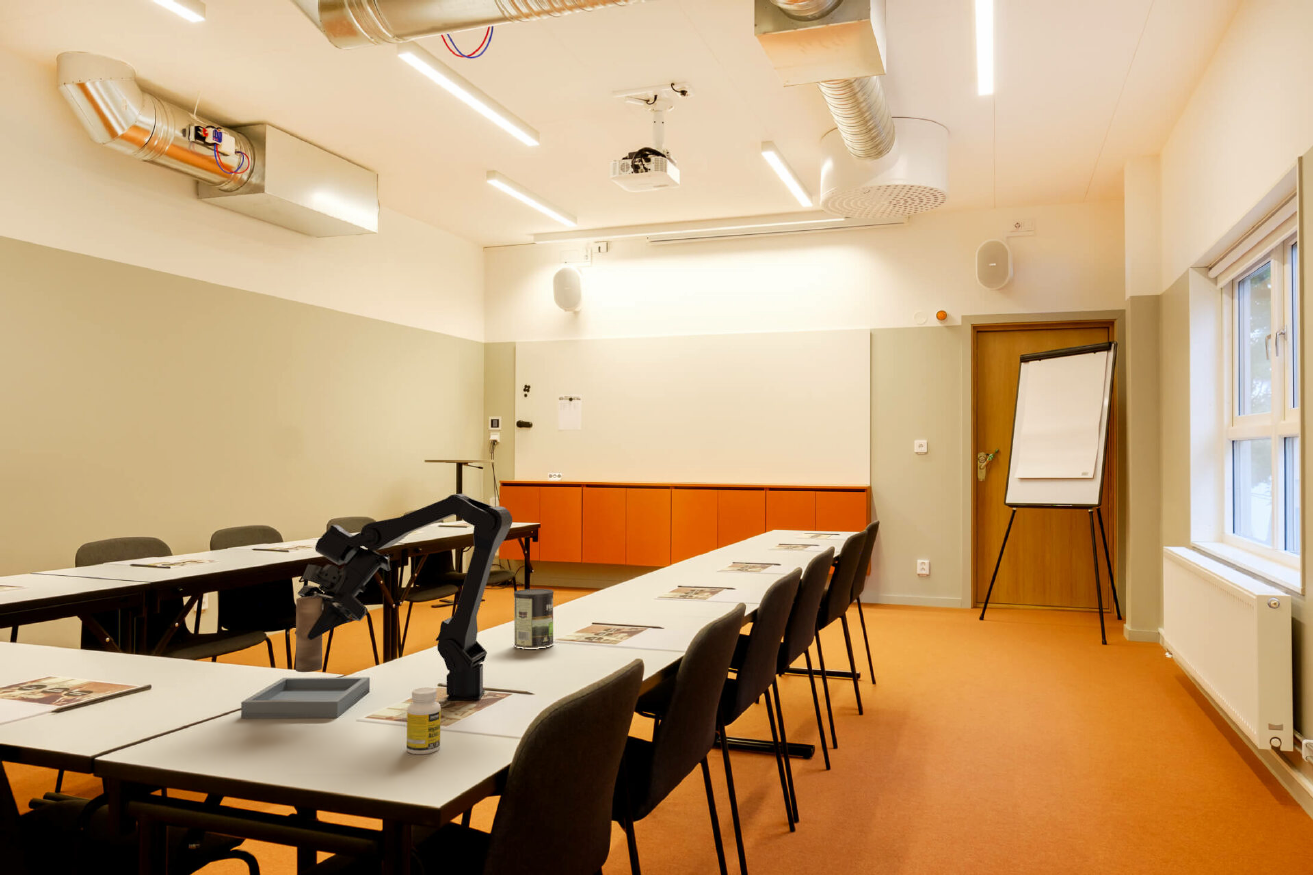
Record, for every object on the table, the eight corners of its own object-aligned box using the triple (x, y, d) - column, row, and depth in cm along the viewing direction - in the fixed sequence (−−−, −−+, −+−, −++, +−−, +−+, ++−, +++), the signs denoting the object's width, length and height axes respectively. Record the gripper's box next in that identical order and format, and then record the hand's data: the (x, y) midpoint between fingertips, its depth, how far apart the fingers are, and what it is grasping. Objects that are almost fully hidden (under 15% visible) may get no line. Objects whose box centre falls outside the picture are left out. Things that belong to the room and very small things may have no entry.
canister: (325, 666, 170) (326, 596, 171) (316, 672, 165) (316, 600, 166) (302, 666, 170) (302, 596, 171) (291, 672, 165) (292, 600, 166)
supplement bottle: (431, 756, 138) (431, 695, 138) (400, 754, 139) (400, 693, 139) (446, 745, 143) (446, 686, 143) (416, 743, 144) (416, 685, 144)
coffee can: (556, 641, 226) (556, 588, 226) (550, 649, 216) (550, 594, 216) (517, 641, 226) (517, 588, 226) (510, 650, 216) (510, 594, 216)
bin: (369, 691, 177) (369, 677, 177) (337, 717, 159) (337, 701, 159) (283, 692, 177) (283, 677, 177) (241, 718, 159) (241, 702, 159)
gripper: (307, 546, 178) (253, 606, 169) (351, 552, 165) (295, 617, 157) (342, 580, 183) (292, 639, 175) (388, 588, 171) (336, 652, 162)
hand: (302, 636), depth 167 cm, fingers closed on canister, 5 cm apart
